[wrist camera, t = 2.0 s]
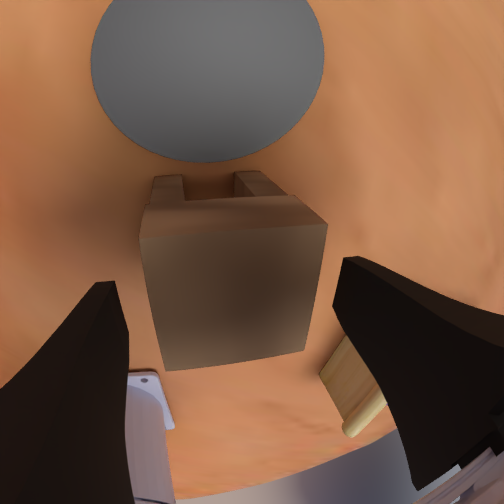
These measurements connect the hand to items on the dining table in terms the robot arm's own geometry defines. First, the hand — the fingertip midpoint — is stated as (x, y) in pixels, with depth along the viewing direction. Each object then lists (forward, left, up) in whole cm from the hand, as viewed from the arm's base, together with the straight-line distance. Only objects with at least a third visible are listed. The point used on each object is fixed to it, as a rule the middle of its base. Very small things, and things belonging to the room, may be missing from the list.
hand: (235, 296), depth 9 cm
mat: (0, +8, -6) cm, 10 cm away
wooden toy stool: (0, 0, -6) cm, 6 cm away
